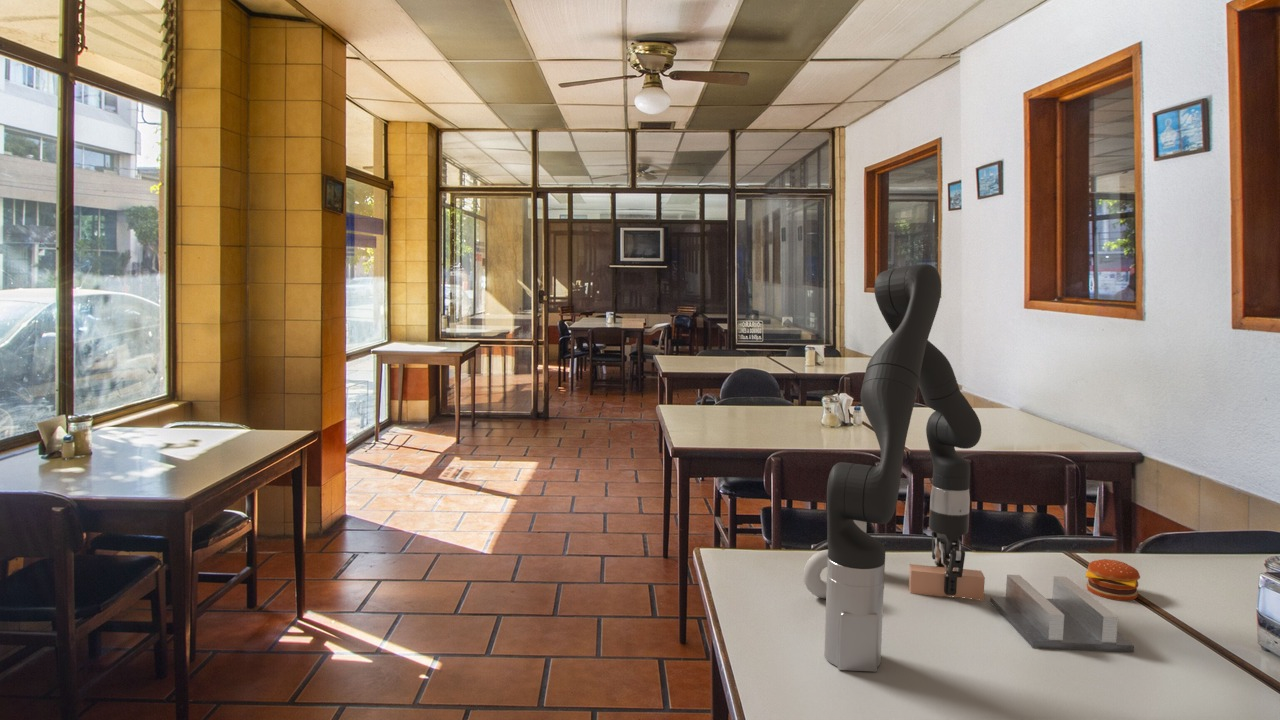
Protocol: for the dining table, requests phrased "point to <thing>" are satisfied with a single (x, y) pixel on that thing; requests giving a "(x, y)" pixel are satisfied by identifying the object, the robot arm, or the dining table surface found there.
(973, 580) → the clay strip
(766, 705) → the dining table surface
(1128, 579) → the hamburger
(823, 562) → the donut
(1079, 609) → the aluminium rail channel
